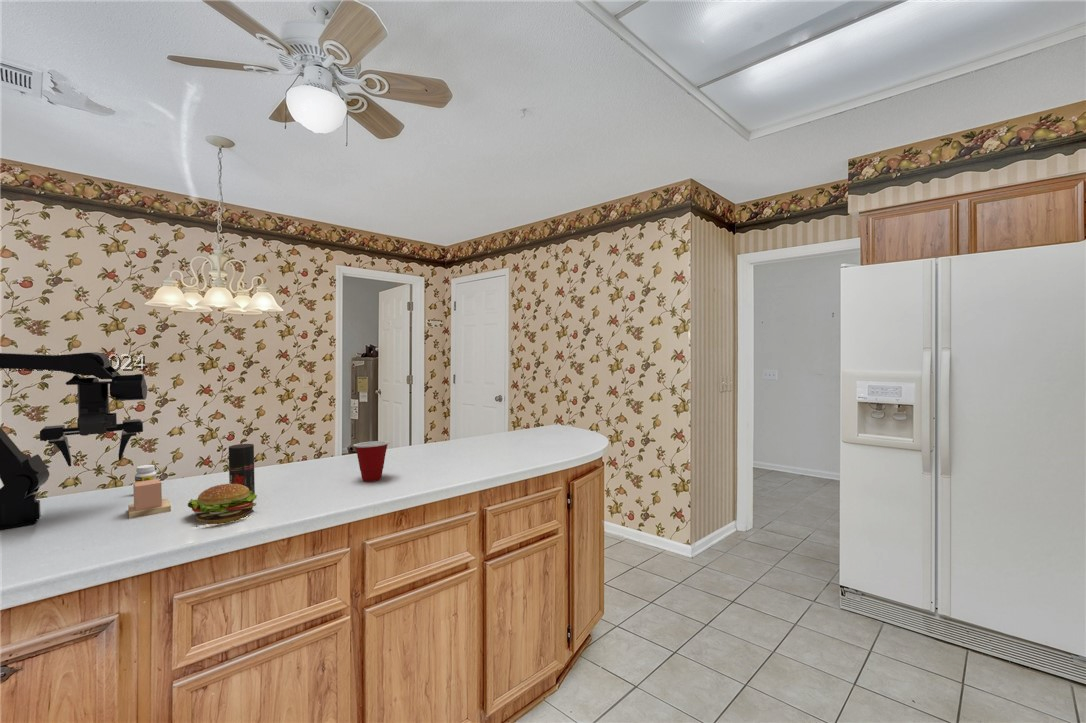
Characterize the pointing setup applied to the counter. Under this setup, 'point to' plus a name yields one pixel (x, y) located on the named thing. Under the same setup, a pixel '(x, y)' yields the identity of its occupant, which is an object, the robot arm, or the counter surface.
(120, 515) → the counter surface
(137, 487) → the block
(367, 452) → the plastic cup
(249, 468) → the deodorant
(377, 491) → the counter surface
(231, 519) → the food
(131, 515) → the tan square slab
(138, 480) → the supplement bottle
